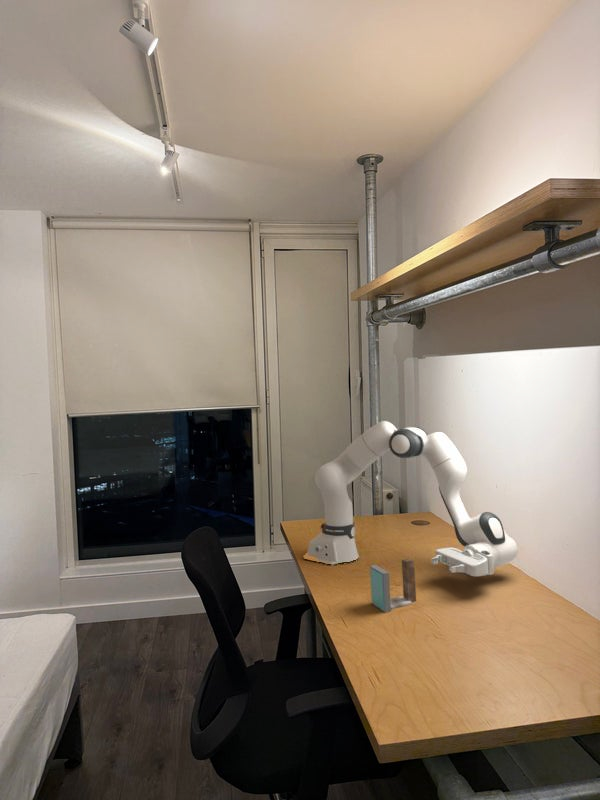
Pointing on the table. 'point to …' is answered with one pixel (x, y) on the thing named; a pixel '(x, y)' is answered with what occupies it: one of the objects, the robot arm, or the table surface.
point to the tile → (380, 588)
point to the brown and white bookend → (406, 585)
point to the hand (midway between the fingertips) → (441, 565)
